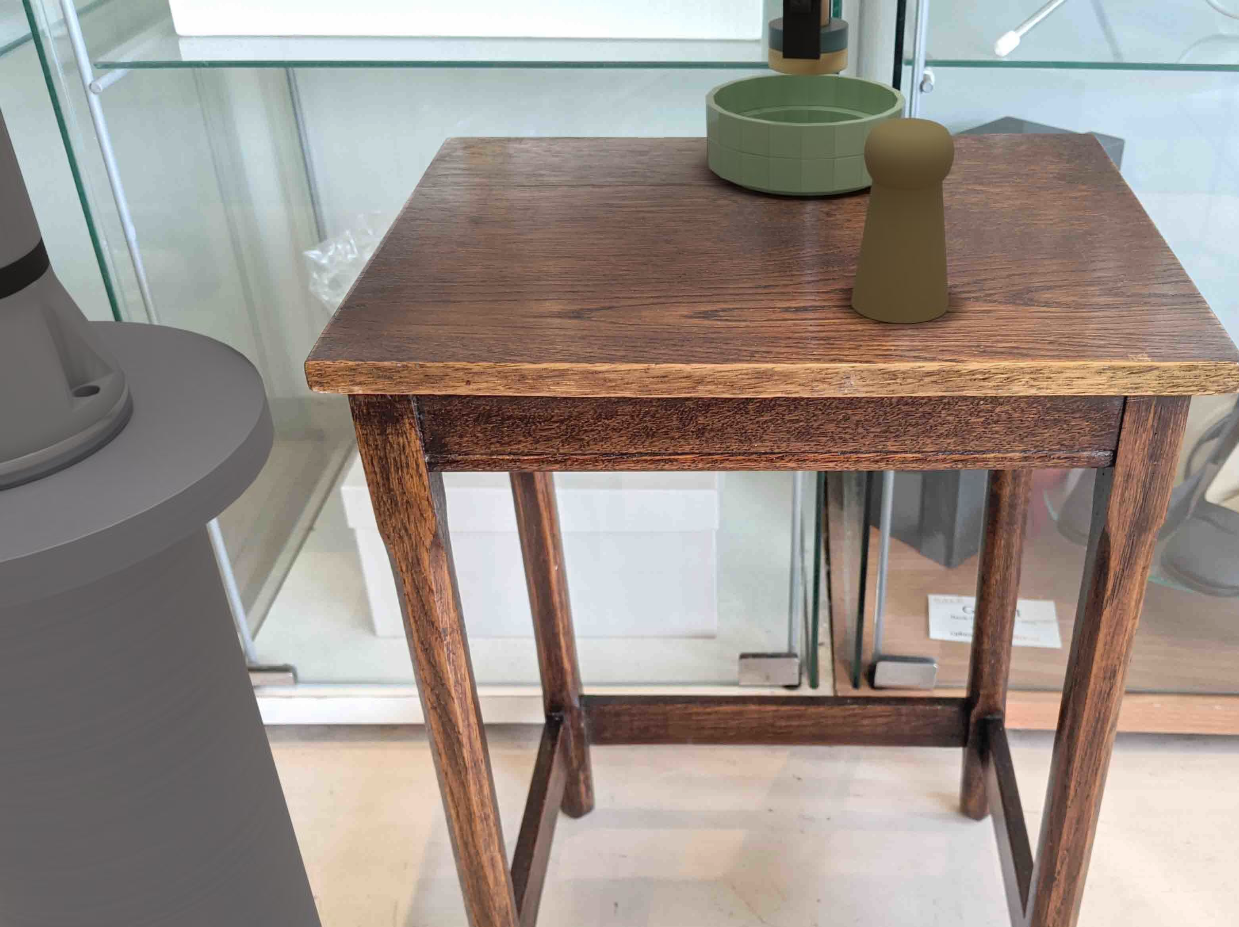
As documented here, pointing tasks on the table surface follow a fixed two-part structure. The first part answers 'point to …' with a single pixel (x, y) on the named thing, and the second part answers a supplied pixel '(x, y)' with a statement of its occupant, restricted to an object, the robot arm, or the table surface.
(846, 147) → the bowl
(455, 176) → the table surface
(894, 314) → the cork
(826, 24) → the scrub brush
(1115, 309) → the table surface
